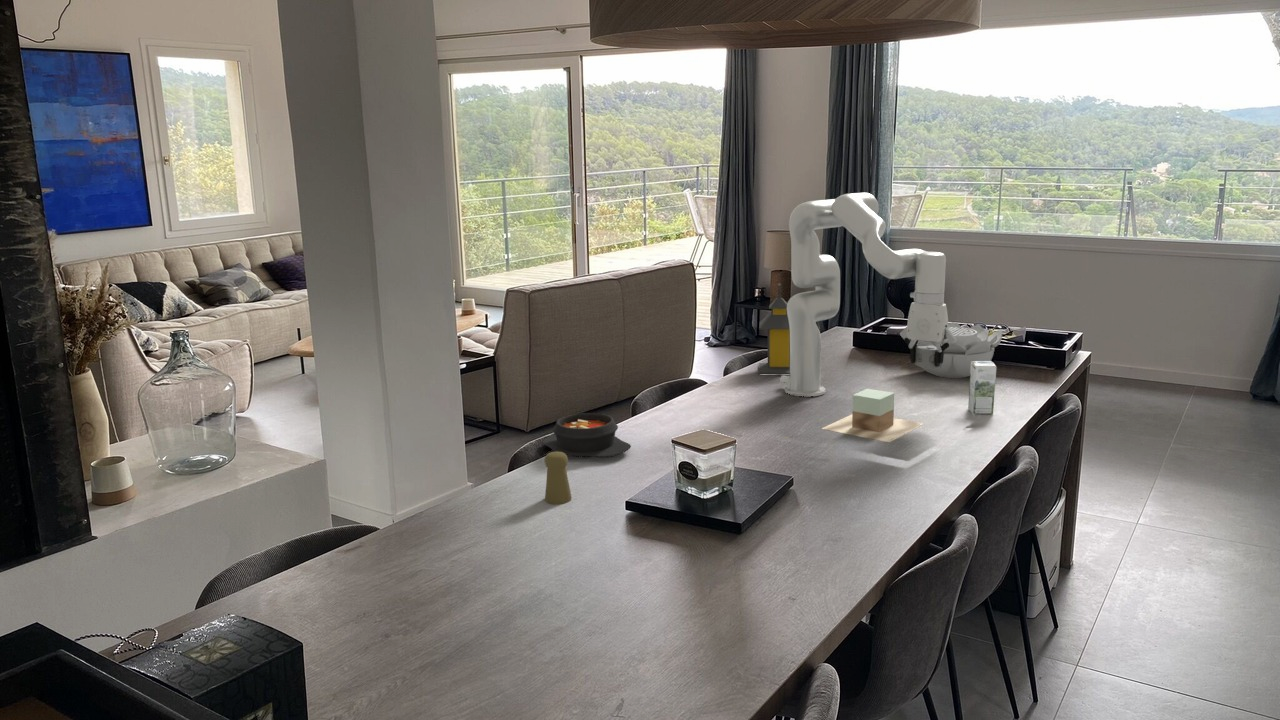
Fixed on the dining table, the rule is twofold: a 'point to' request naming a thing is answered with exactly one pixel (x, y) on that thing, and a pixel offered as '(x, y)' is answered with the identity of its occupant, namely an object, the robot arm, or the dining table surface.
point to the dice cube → (926, 357)
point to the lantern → (777, 338)
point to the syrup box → (982, 387)
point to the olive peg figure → (557, 479)
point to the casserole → (586, 436)
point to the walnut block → (872, 421)
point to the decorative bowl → (965, 350)
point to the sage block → (873, 402)
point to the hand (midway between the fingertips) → (926, 363)
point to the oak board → (886, 435)
